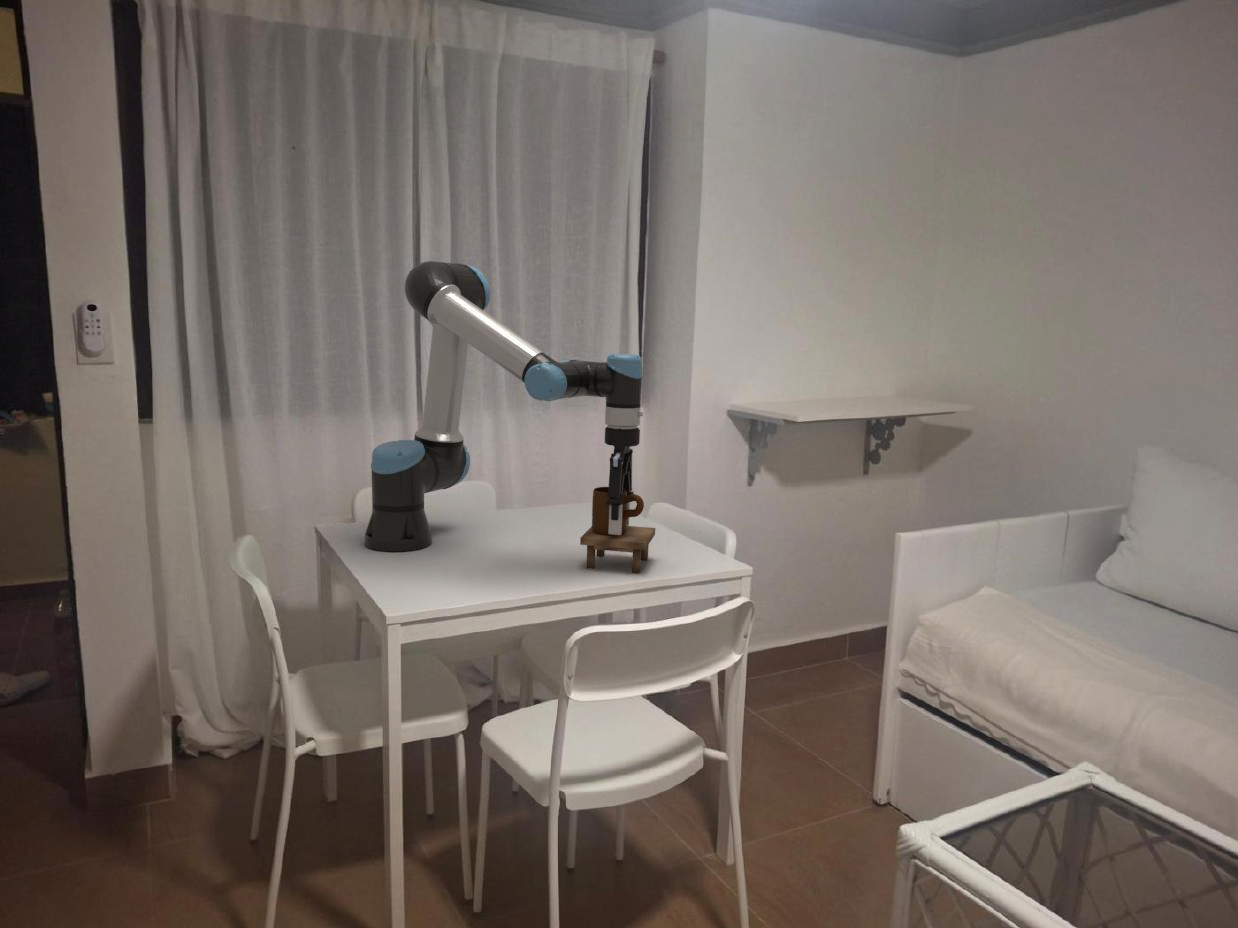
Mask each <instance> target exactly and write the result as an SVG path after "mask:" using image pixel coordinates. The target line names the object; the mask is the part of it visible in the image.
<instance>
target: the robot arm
mask: <svg viewBox="0 0 1238 928" xmlns="http://www.w3.org/2000/svg"><path fill="white" fill-rule="evenodd" d="M404 294H405V299H406V300H407V302H408V304H409V305H410V307H411V308H412V309H413V310H414V311H415V312H416V313H417V314H418V315H420V316H421V317H422V318H424V319H426V320H427V321H428V322H429V324H430V325H431V327H432V331H431V332H432V333H431V340H430V341H431V342H430V348H429V351H430V352H429V359H428V360H429V361H428V369H427V370H428V371H427V379H426V388H425V397H424V398H425V399H424V405H423V406H424V407H423V414H422V415H423V417H422V425H421V427H420V428H418V429H417V430H416V431H415V432H414V439H401V440H399V439H398V440H392V441H387V442H383V443H381V444H379V445H376V446H375V448H374V449H373V450H372V454H371V463H370V469H371V502H372V507H371V508H372V511H371V515H370V518H369V522H368V523H367V527H366V529H365V533H364V545H365V546H366V547H367V548H368V549H372V550H375V551H380V552H407V551H408V552H409V551H416V550H419V549H420V550H421V549H424V548H427V547H430V546H431V544H432V543H433V533H432V530H431V527H430V523H429V520H428V517H427V515H426V513H425V494H428V493H432V492H437V491H441V490H447V489H449V488H451V487H454V486H457V485H458V484H459V483H462V481H463V480H464V479H466V477H467V474H468V473H469V471H470V467H471V454H470V452H468V449H467V446H466V445H465V444H464V441H465V436H463V435H462V433H461V432H460V431H459V427H460V420H461V409H462V402H463V401H462V400H463V393H464V384H465V378H466V377H465V375H466V370H467V369H466V366H467V359H468V358H467V357H468V351H469V345H470V346H472V347H473V348H475V350H477V351H479V352H480V353H481V354H483V355H484V356H486V357H487V358H489V359H490V360H491V361H493V362H494V363H496V364H497V365H498V366H500V367H501V368H502V369H504V370H505V371H506V372H508V373H509V374H511V375H512V376H514V377H515V378H516V379H518V380H520V381H521V382H522V383H524V387H525V389H526V392H527V393H528V395H529V396H530V397H531V398H533V399H534V400H536V401H541V402H542V401H545V402H551V401H556V400H561V399H568V398H569V399H570V398H576V397H577V398H578V397H596V398H597V397H599V398H605V411H604V413H605V414H604V415H605V416H604V424H605V425H607V426H606V427H605V428H604V444H606V445H607V446H611V447H612V446H613V447H614V448H613V453H611V455H610V457H609V476H608V487H609V488H608V499H607V501H606V504H608V505H609V532H608V534H613V535H621V534H622V506H623V505H621V504H622V502H621V501H622V492H623V489H626V490H627V496H628V495H631V494H635V493H634V492H635V491H633V453H634V451H633V448H630V447H636V446H638V445H640V439H641V437H640V436H641V434H640V433H641V429H640V428H639V426H640V424H641V417H643V416H644V412H643V411H641V405H642V404H641V400H642V385H643V382H642V381H643V378H644V377H643V376H644V375H643V361H642V358H641V356H640V355H638V354H632V353H610V354H608V355H607V358H606V361H605V362H603V361H602V362H599V361H590V360H588V361H587V360H578V359H565V360H564V359H563V360H561V361H560V362H558V361H557V360H555V359H553V358H552V357H551V356H549V355H547V354H546V353H545V352H543V351H542V350H540V349H539V347H536V346H535V345H534V344H532V343H531V342H529V341H528V340H526V339H525V338H524V337H522V336H521V335H519V334H517V333H516V332H515V331H513V330H512V329H510V328H509V327H508V326H507V325H505V324H503V323H502V322H501V321H499V320H498V319H496V318H495V317H494V316H491V314H489V313H487V312H486V311H484V310H485V309H487V308H488V305H489V303H490V299H491V288H490V284H489V282H488V279H487V278H486V277H485V275H484V274H483V272H482V271H480V269H479V268H476V267H475V266H472V265H468V264H464V263H458V262H443V261H442V262H441V261H435V260H429V261H428V260H427V261H423V262H420V263H418V264H417V265H415V266H414V267H412V268H411V270H410V271H409V272H408V274H407V275H406V279H405V281H404ZM613 497H615V498H613ZM630 507H631V502H629V503H627V510H628V509H631V508H630ZM626 526H630V517H629V518H628V519H627V521H626Z"/></svg>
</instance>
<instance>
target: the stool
mask: <svg viewBox="0 0 1238 928" xmlns="http://www.w3.org/2000/svg"><path fill="white" fill-rule="evenodd" d="M655 535H656V527H648V526H647V527H646V526H635V525H629V526H626V531H625V532H624V533H623V534H621V535H601V534H597V533H595V532H593V530H592V525H591V526H590V528H588V529H587V530H586V531H585V533H584V534H582V536H580V539H579V545H581V546H586V569H589V570H593V569H594V570H595V568H596V557H597V558H605V551H607V552H608V551H609V552H621V553H622V552H623V553H632V564H631V565H632V566H631V572H632V573H633V574H640V573H641V572H642V571H641V568H642V567H641V566H642V565H641V564H642V561H643V562H646V561H648V560H649V547H650V546H649V545H650V544H651V542H652V540H653V539H654V537H655Z"/></svg>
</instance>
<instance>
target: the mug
mask: <svg viewBox="0 0 1238 928" xmlns="http://www.w3.org/2000/svg"><path fill="white" fill-rule="evenodd" d="M608 488H609V486H598V487H596V488H594V489H593V492H592V504H591V505H592V508H591V509H592V510H591V526H592V530H593V532H595V533H597V534H601V535H613V534H608V532H609V505H608V504H606V501H607V499H608ZM613 498H615V497H613ZM621 502H622V504H621V505H623V506H622V534H623V533H624V532H625V531H626V521H627V519H628V518H629V519H630V518H635V517H638V516H640V515H641V514H642V512H643V510H644V507H645V503H644V500H643V498H642V497H641V496H640V495H638V494H635V493H634V494H631V495H628V496H627V490H626V489H623V492H622V501H621ZM629 502H630V503H632V502H635V503H636V506H635V508H634V509H631V508H630V509H628V510H627V503H629Z"/></svg>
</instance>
